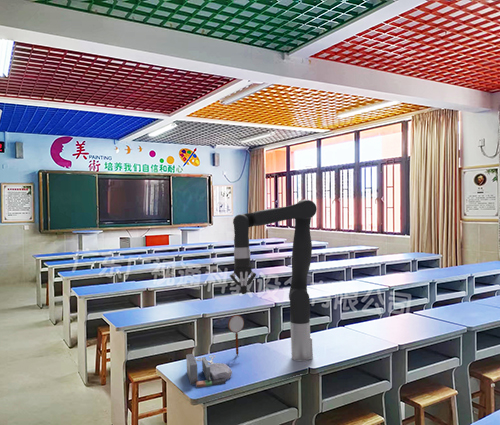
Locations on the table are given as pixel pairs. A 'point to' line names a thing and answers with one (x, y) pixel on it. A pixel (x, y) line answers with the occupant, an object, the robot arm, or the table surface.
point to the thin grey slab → (206, 368)
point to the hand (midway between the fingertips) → (243, 293)
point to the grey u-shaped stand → (194, 375)
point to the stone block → (219, 371)
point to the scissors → (207, 361)
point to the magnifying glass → (236, 327)
